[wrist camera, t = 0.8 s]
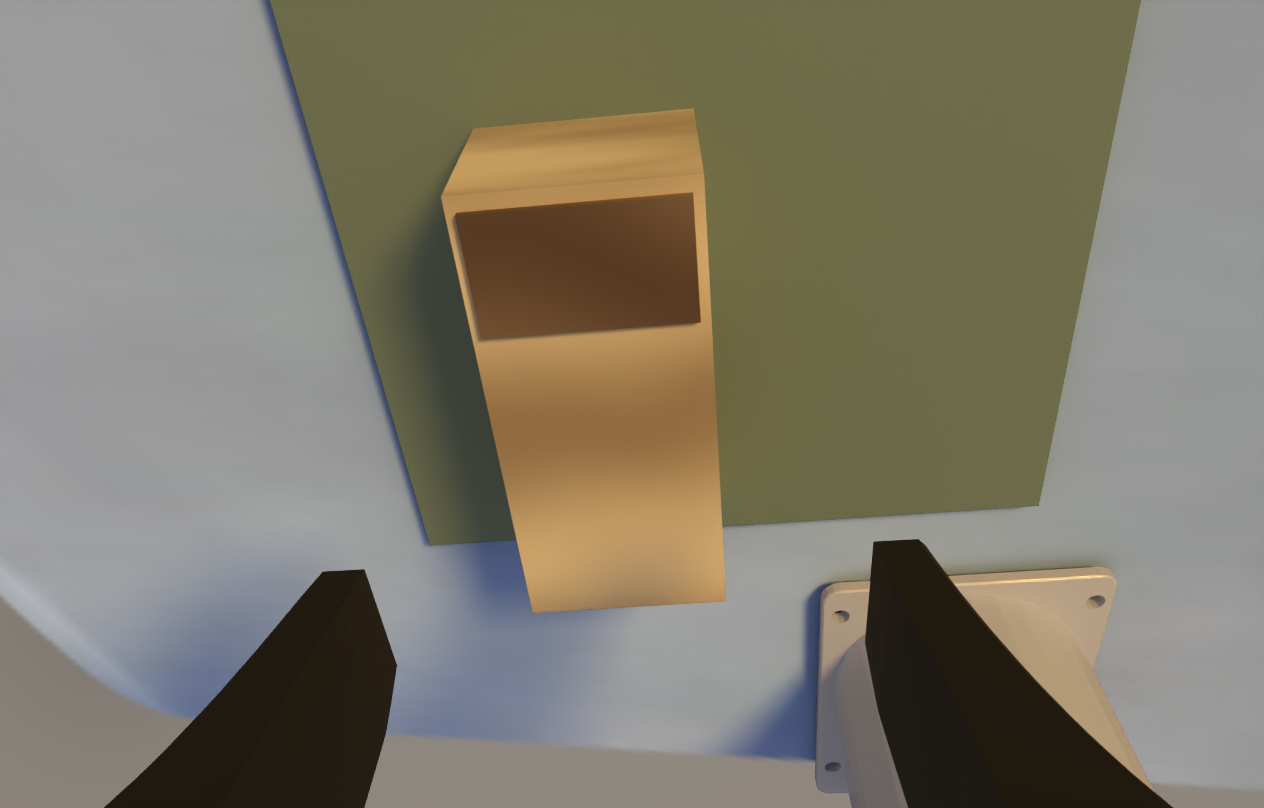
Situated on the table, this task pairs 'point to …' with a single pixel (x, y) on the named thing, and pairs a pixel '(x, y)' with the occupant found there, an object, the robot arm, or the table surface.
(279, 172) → the table surface
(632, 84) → the rubber mat
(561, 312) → the wooden cubby box
